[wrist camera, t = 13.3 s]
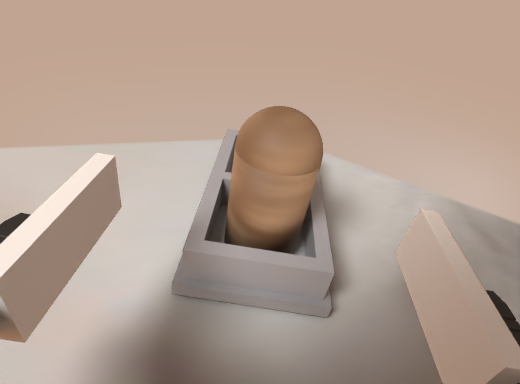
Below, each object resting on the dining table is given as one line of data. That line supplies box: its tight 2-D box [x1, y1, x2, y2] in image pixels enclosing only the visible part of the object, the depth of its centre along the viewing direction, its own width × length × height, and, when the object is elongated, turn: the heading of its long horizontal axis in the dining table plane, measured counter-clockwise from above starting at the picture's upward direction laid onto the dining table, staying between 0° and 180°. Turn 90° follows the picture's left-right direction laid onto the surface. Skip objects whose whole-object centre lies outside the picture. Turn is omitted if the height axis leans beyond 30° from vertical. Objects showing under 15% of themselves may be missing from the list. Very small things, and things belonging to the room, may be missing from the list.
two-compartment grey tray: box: [172, 129, 335, 318], centre depth 26 cm, size 18×10×4 cm, turn 176°
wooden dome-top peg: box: [224, 106, 323, 254], centre depth 20 cm, size 5×5×10 cm
